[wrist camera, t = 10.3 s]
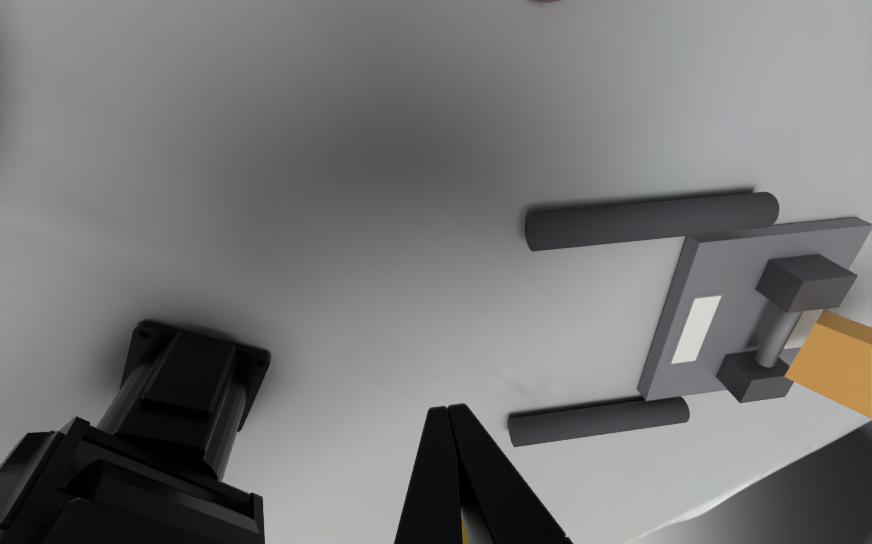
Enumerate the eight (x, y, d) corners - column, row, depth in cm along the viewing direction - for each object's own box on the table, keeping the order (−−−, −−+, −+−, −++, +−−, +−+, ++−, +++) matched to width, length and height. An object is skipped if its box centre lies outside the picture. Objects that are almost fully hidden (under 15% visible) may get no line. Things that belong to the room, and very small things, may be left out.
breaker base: (637, 389, 29) (664, 428, 26) (687, 233, 23) (730, 265, 20) (771, 371, 30) (810, 407, 27) (856, 217, 24) (918, 244, 21)
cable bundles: (507, 429, 30) (515, 452, 28) (527, 207, 21) (539, 223, 19) (669, 407, 31) (685, 428, 29) (756, 186, 22) (785, 200, 20)
